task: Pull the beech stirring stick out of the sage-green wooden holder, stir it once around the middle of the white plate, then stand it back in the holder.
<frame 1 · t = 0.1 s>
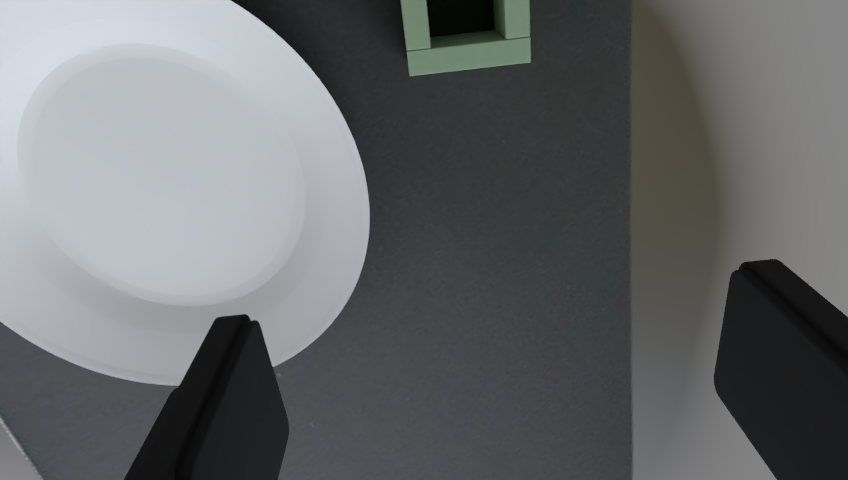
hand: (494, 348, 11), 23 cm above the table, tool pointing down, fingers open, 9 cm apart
white plate: (168, 185, 34), on the table
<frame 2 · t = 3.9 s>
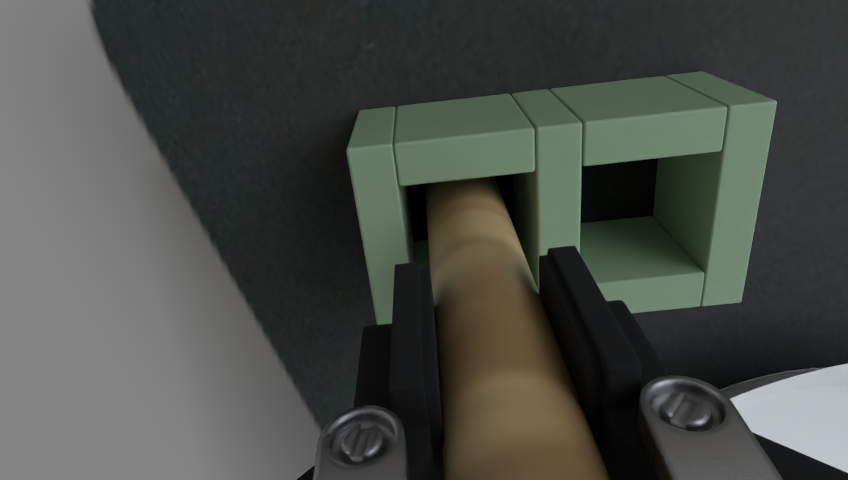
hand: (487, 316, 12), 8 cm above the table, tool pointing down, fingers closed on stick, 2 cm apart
stick: (460, 187, 19), resting in holder, touching gripper
holder: (531, 179, 19), on the table
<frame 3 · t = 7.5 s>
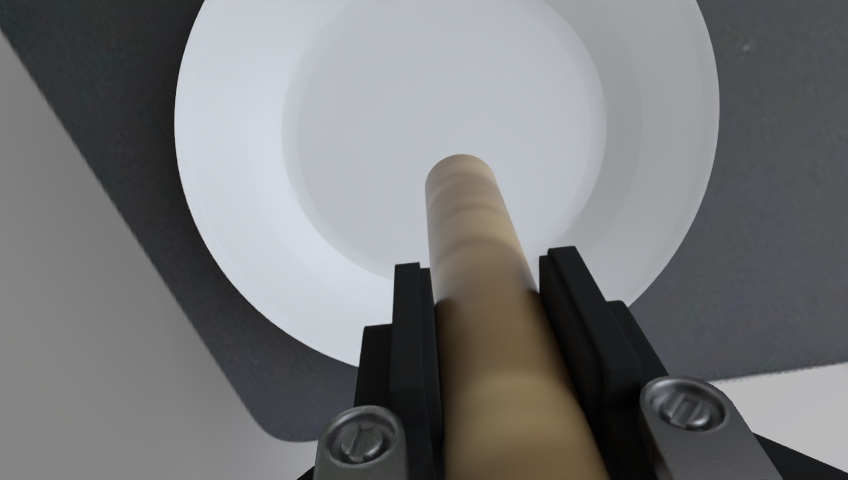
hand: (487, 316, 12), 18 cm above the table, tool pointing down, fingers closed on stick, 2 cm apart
stick: (460, 187, 19), point 11 cm above the table, touching gripper
white plate: (444, 147, 30), on the table
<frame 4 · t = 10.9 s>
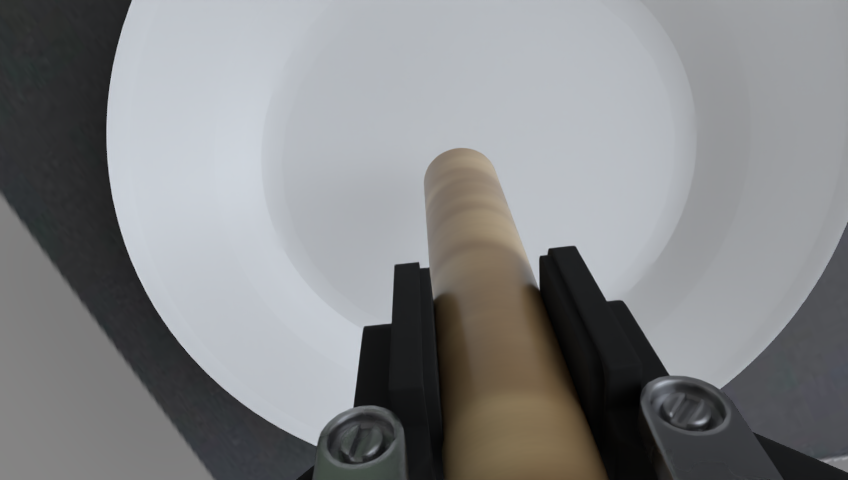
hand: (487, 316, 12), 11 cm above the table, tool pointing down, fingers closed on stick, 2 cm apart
stick: (460, 181, 18), point 4 cm above the table, touching white plate, gripper
white plate: (477, 179, 22), on the table, touching stick
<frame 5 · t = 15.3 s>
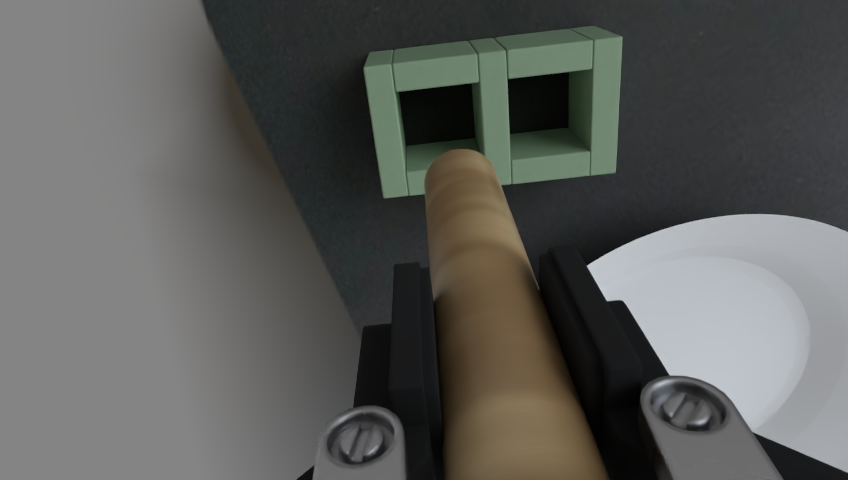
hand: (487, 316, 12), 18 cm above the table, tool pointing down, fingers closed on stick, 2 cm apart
stick: (460, 182, 18), point 11 cm above the table, touching gripper
white plate: (670, 365, 36), on the table
holder: (484, 101, 28), on the table
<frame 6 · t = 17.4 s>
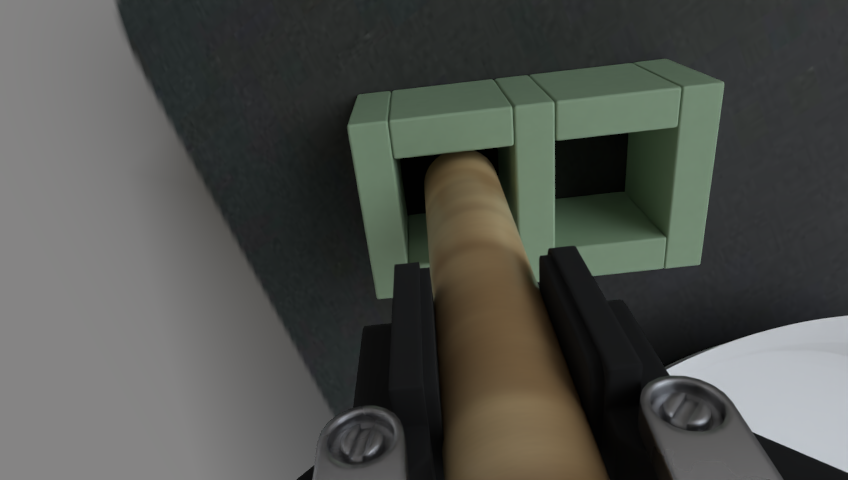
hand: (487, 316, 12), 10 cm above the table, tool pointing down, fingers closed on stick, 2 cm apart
stick: (460, 182, 18), point 3 cm above the table, touching gripper
white plate: (736, 471, 29), on the table
holder: (513, 158, 21), on the table
when the fingers open (7 cm above the table, at t = 18.4 s): stick stays where it is, resting in holder.
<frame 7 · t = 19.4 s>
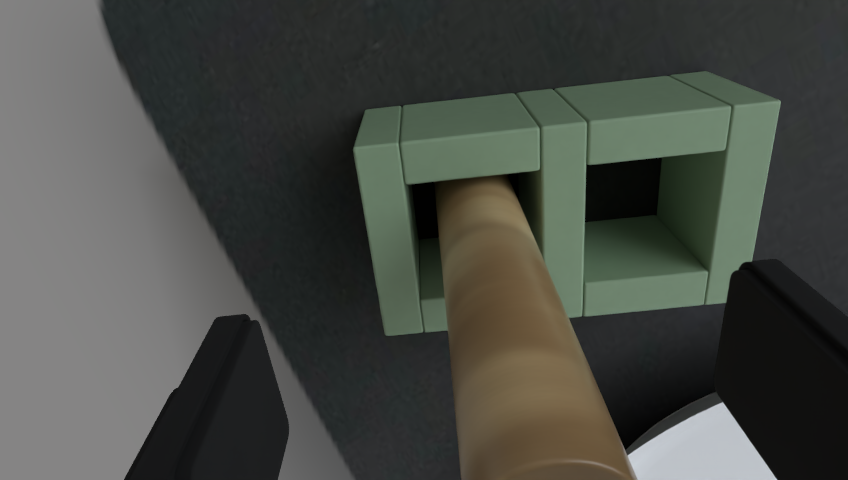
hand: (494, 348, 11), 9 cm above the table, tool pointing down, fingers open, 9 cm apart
stick: (469, 177, 19), resting in holder
holder: (535, 178, 19), on the table
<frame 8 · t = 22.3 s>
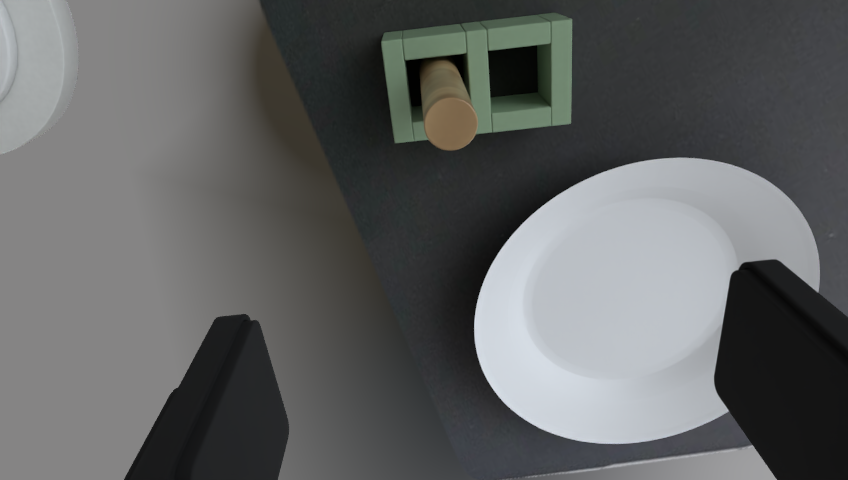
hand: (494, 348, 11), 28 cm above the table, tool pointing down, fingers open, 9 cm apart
stick: (437, 70, 36), resting in holder
white plate: (626, 292, 45), on the table
holder: (472, 71, 36), on the table
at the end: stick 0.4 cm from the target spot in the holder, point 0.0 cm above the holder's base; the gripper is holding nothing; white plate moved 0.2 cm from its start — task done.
